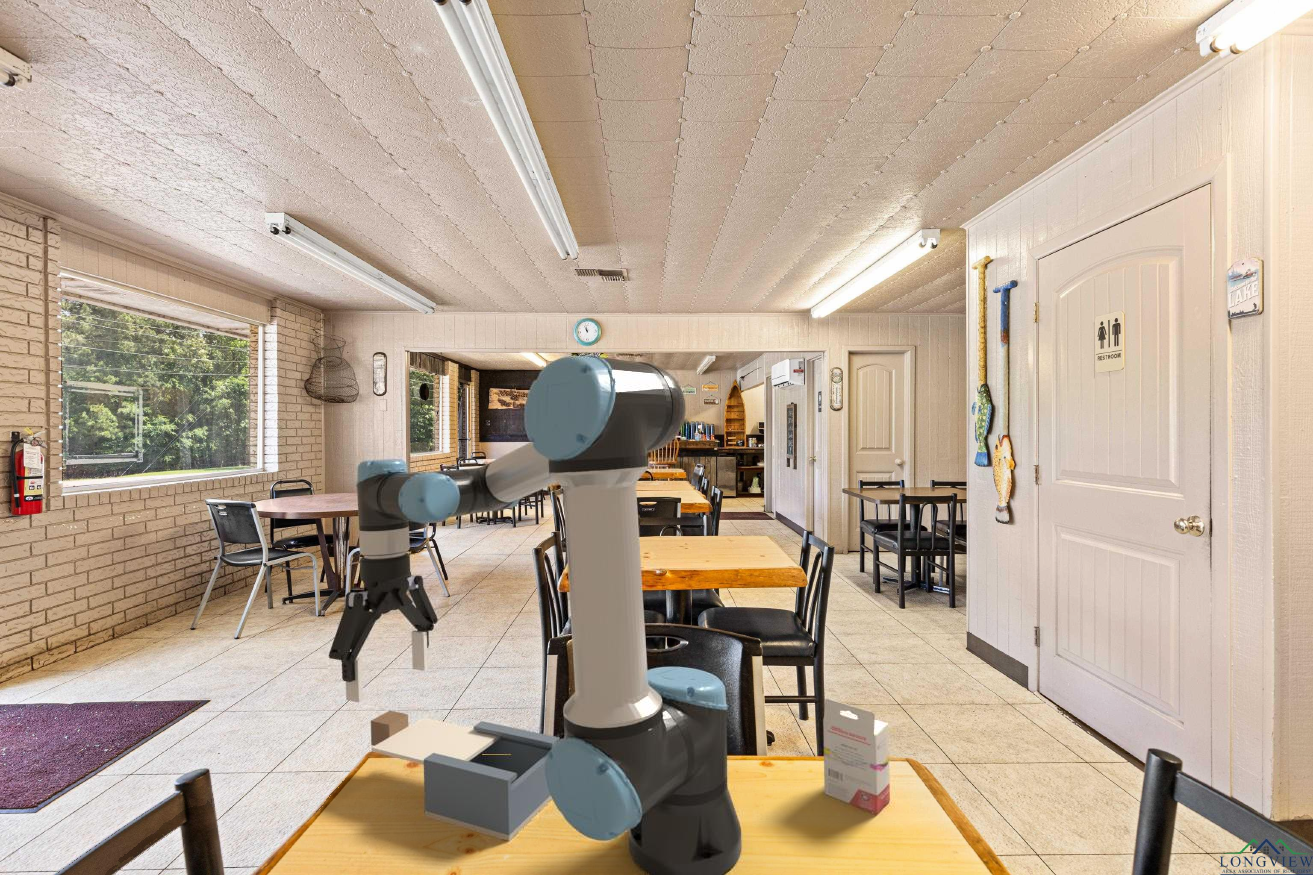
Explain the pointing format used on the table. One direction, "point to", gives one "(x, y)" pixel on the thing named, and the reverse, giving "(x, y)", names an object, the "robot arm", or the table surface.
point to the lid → (426, 738)
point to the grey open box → (491, 783)
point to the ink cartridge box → (856, 756)
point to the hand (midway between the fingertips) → (389, 683)
